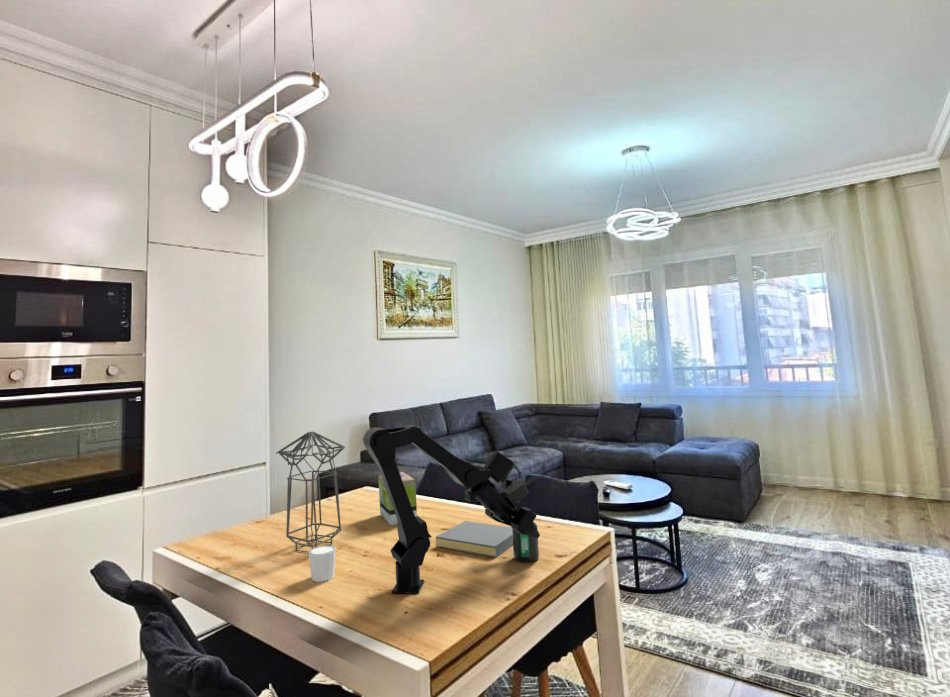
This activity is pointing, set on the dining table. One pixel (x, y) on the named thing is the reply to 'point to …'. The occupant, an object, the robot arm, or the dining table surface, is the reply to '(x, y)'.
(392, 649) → the dining table surface
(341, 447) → the geometric lantern
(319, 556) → the white cylinder
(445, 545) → the gray hardcover book
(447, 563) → the dining table surface
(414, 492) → the tea box
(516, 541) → the supplement bottle
